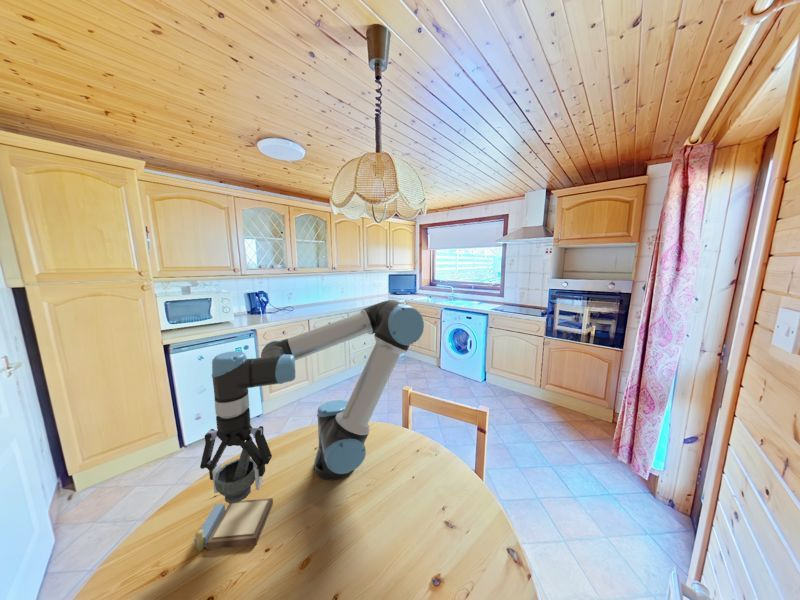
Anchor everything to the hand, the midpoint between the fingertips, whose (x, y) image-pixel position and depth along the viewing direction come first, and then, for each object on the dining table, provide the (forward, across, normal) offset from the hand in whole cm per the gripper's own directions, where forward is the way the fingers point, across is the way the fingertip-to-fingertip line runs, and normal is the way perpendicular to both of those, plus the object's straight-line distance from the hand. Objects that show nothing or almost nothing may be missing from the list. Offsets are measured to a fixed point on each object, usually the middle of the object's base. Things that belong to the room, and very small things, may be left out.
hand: (239, 487), depth 74 cm
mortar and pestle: (+1, 0, 0) cm, 1 cm away
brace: (+12, +8, +1) cm, 14 cm away
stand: (+12, 0, 0) cm, 12 cm away
